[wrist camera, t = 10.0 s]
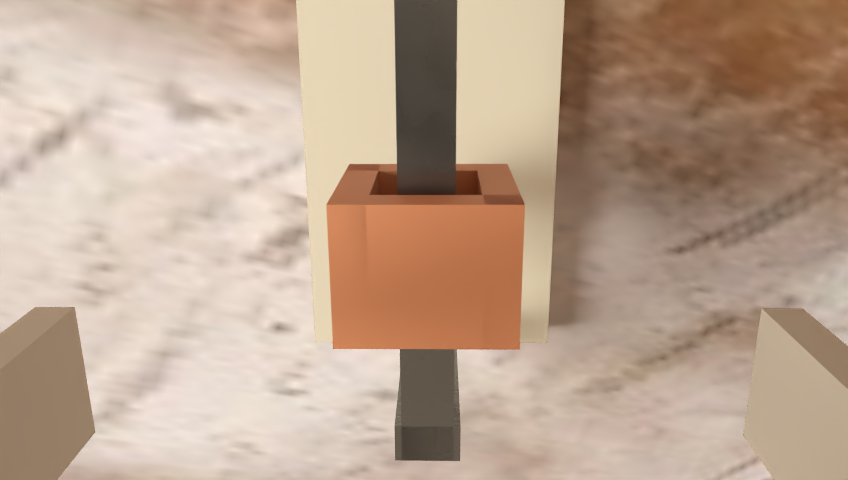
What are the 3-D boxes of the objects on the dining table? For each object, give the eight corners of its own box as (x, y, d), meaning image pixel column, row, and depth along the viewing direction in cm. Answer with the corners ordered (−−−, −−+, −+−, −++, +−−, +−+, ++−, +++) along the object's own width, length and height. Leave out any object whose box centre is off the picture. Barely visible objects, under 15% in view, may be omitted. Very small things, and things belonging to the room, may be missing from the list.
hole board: (282, -401, 25) (271, -429, 23) (577, -406, 25) (587, -435, 23) (320, 326, 33) (314, 342, 32) (542, 327, 33) (547, 343, 31)
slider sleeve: (365, 135, 28) (326, 204, 18) (495, 135, 28) (524, 204, 18) (368, 234, 30) (332, 349, 20) (492, 234, 29) (519, 349, 20)
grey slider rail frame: (398, -318, 24) (376, -500, 16) (459, -319, 24) (470, -502, 15) (407, 333, 31) (395, 460, 23) (454, 333, 31) (459, 460, 23)
